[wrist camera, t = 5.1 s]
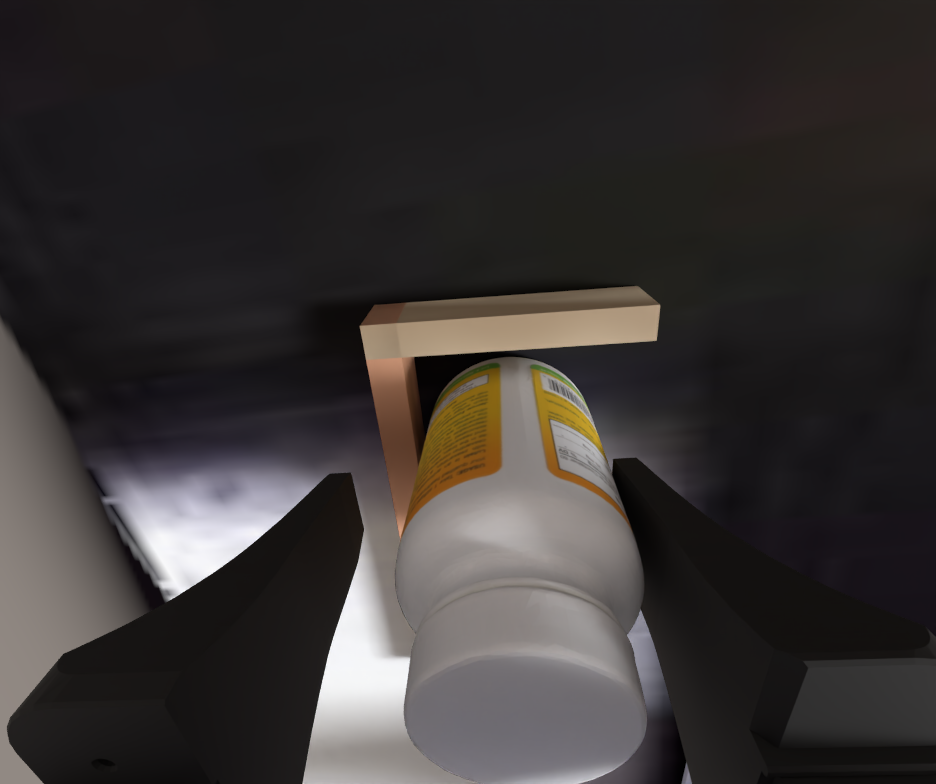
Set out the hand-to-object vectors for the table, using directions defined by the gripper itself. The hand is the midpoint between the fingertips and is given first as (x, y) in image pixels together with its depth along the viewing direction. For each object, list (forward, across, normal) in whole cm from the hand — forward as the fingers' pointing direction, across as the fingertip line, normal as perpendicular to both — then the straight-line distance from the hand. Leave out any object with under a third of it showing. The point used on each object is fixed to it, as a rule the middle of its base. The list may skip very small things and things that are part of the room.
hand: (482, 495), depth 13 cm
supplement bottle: (+4, -1, 0) cm, 4 cm away
